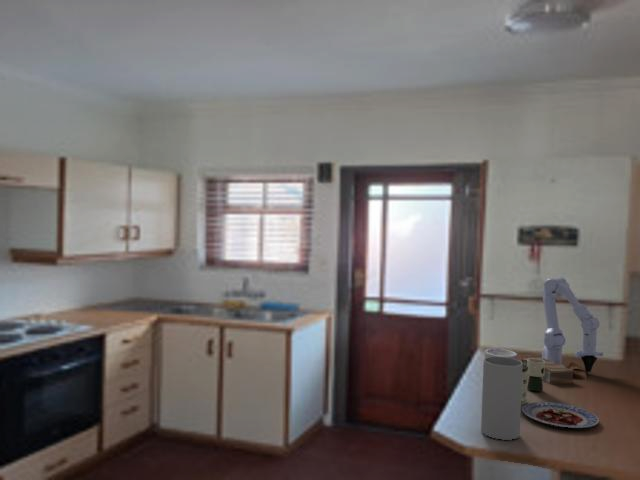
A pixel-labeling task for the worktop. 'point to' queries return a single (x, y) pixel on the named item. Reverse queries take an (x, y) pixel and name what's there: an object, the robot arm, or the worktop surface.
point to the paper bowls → (500, 353)
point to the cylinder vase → (501, 397)
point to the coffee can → (524, 384)
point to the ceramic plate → (560, 415)
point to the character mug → (535, 374)
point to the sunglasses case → (578, 371)
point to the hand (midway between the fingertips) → (588, 371)
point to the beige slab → (554, 372)
